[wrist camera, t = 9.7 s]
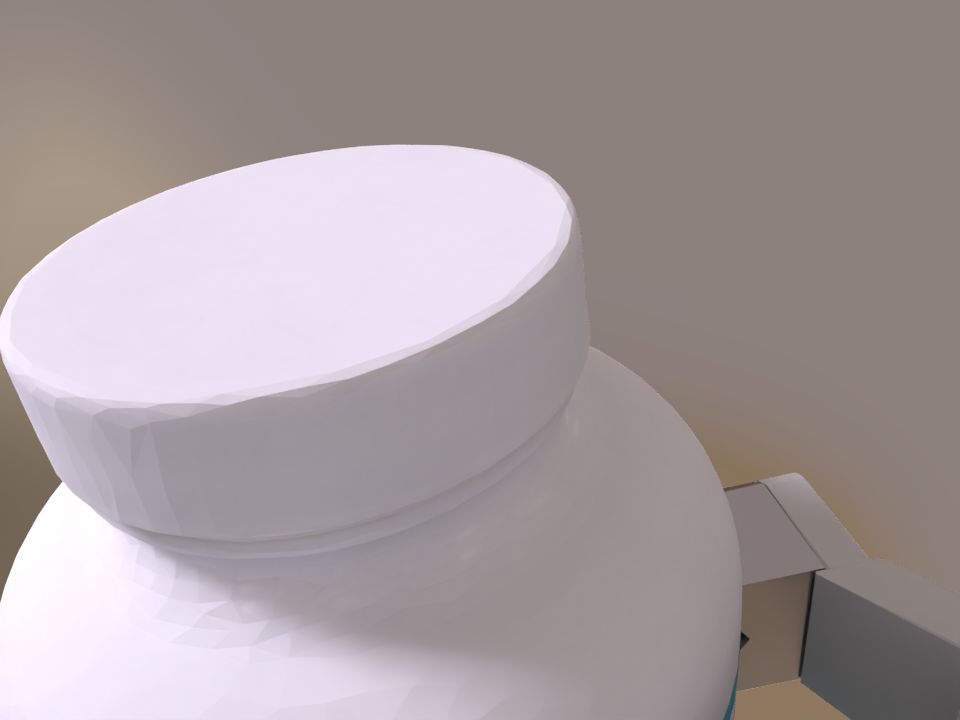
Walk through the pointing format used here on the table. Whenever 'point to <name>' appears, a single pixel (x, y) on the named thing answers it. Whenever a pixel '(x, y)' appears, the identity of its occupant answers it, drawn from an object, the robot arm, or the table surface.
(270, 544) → the pill bottle
